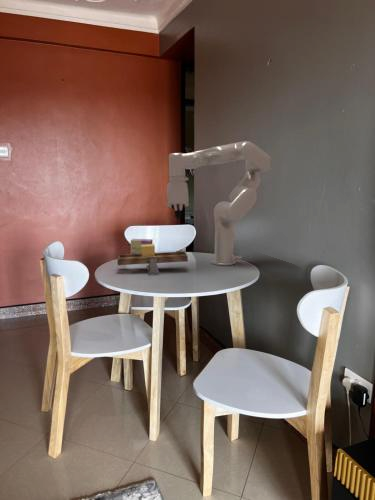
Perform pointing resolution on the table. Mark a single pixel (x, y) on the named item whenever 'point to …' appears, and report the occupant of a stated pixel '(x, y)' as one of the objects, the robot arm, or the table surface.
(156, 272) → the stand
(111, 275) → the table surface
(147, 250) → the block
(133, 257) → the beam
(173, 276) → the table surface
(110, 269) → the table surface
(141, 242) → the box
